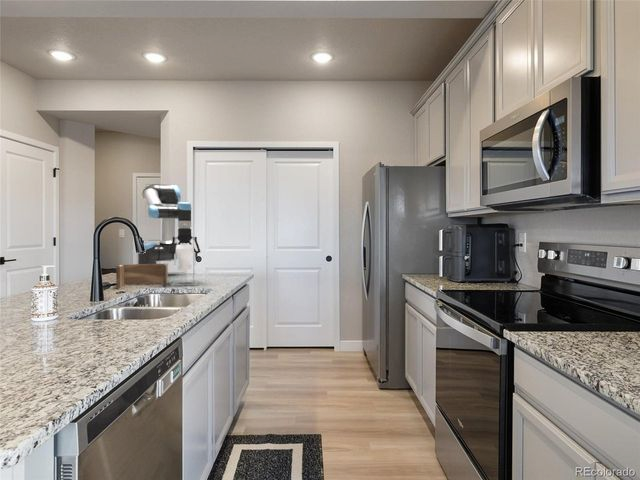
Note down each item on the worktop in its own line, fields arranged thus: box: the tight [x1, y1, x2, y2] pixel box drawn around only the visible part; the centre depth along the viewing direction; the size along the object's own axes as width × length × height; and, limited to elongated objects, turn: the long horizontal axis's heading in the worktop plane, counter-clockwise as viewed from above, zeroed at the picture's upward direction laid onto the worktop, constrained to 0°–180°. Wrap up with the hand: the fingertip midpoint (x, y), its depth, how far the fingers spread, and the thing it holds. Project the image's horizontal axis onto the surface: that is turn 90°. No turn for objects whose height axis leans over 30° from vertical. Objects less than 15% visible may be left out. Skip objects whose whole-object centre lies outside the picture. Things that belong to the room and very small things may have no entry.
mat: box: [170, 280, 199, 287], centre depth 226 cm, size 15×15×1 cm
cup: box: [176, 243, 195, 271], centre depth 226 cm, size 11×11×15 cm
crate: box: [115, 263, 169, 290], centre depth 220 cm, size 17×26×13 cm, turn 109°
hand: (184, 264), depth 226 cm, fingers closed on cup, 10 cm apart
